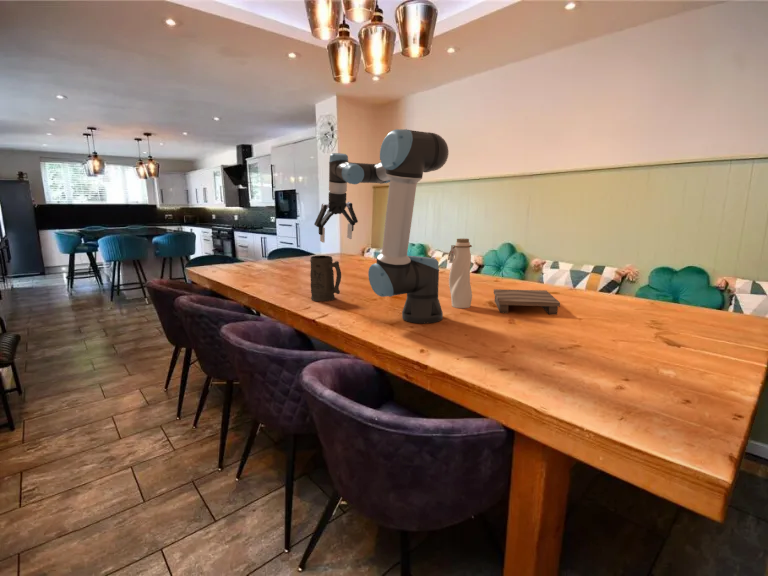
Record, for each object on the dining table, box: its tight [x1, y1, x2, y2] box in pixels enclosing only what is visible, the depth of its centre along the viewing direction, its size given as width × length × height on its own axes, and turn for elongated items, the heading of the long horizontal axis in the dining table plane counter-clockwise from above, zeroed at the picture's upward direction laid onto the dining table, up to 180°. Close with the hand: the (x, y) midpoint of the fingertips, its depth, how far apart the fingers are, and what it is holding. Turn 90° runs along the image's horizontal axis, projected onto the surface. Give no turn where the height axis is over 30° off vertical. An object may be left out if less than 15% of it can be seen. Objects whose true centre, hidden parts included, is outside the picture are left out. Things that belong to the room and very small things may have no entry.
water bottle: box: [447, 238, 473, 309], centre depth 160 cm, size 10×9×28 cm
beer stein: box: [309, 255, 342, 302], centre depth 175 cm, size 15×11×20 cm
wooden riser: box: [493, 288, 561, 316], centre depth 159 cm, size 22×22×5 cm
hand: (336, 239), depth 173 cm, fingers open, 13 cm apart
